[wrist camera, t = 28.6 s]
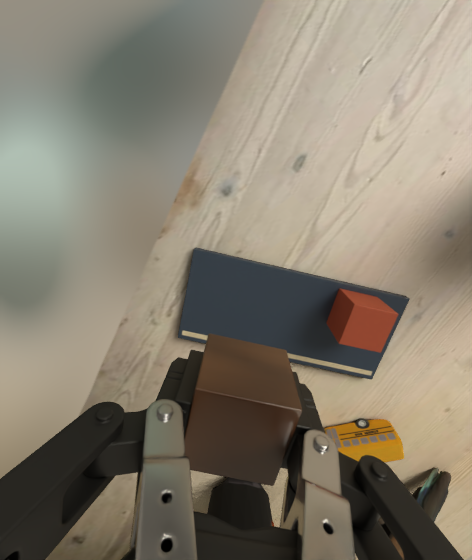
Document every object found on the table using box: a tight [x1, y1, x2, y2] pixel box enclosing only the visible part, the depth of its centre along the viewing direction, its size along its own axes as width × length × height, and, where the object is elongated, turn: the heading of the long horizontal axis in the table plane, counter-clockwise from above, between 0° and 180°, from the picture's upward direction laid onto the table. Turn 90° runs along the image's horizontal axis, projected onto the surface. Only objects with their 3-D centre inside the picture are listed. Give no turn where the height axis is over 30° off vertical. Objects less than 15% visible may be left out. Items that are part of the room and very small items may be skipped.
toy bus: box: [323, 419, 404, 462], centre depth 32 cm, size 3×10×4 cm, turn 106°
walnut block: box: [184, 334, 302, 486], centre depth 12 cm, size 4×4×4 cm
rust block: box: [326, 288, 398, 353], centre depth 26 cm, size 4×4×4 cm
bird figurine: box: [378, 468, 451, 560], centre depth 32 cm, size 13×10×20 cm
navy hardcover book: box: [178, 248, 409, 379], centre depth 29 cm, size 22×10×1 cm, turn 77°
